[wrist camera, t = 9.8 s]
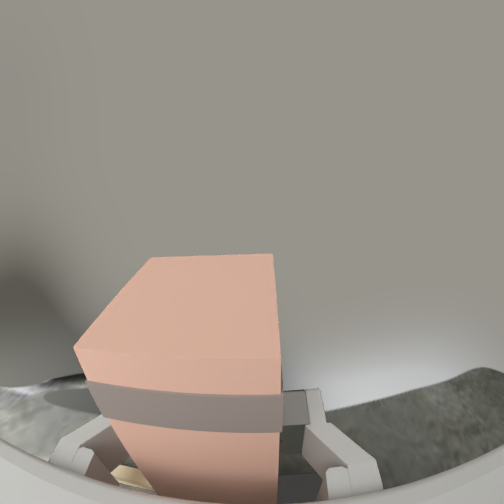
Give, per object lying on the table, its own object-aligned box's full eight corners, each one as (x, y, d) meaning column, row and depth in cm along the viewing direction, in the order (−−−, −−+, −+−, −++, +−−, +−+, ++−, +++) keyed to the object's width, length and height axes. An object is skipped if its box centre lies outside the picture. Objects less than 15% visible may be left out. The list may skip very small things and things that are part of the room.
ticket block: (274, 458, 13) (274, 252, 9) (275, 536, 9) (283, 360, 5) (201, 456, 14) (150, 256, 10) (188, 532, 9) (70, 348, 5)
